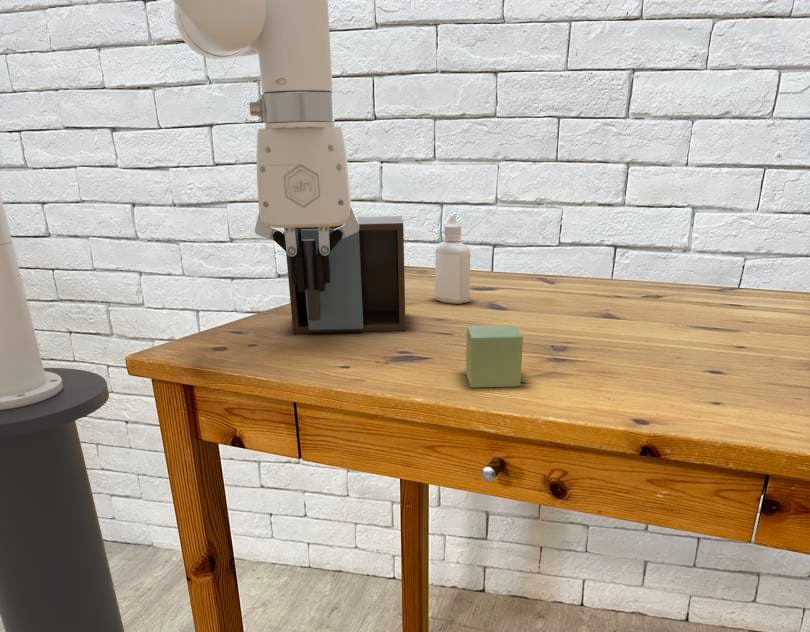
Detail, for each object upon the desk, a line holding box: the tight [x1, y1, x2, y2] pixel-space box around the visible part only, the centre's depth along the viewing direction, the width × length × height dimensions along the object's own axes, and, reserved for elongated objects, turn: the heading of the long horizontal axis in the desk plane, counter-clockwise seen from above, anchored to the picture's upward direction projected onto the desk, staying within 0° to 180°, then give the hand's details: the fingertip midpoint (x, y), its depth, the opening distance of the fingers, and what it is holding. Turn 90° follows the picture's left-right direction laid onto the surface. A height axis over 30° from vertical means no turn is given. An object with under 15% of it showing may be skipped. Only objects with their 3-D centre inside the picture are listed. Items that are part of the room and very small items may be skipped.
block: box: [465, 324, 524, 389], centre depth 78 cm, size 5×5×5 cm
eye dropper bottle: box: [434, 214, 471, 305], centre depth 113 cm, size 4×6×12 cm
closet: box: [285, 215, 407, 334], centre depth 100 cm, size 9×15×13 cm, turn 91°
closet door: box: [301, 229, 363, 330], centre depth 93 cm, size 6×7×12 cm
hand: (312, 288), depth 91 cm, fingers closed on closet door
